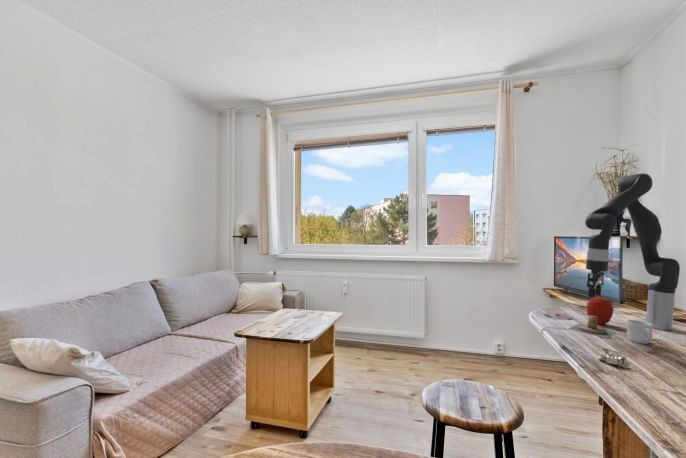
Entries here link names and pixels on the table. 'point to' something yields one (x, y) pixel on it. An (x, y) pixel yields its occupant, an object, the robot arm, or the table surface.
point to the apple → (600, 309)
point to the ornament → (614, 359)
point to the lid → (592, 326)
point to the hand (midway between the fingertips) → (594, 296)
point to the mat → (609, 333)
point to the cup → (639, 331)
